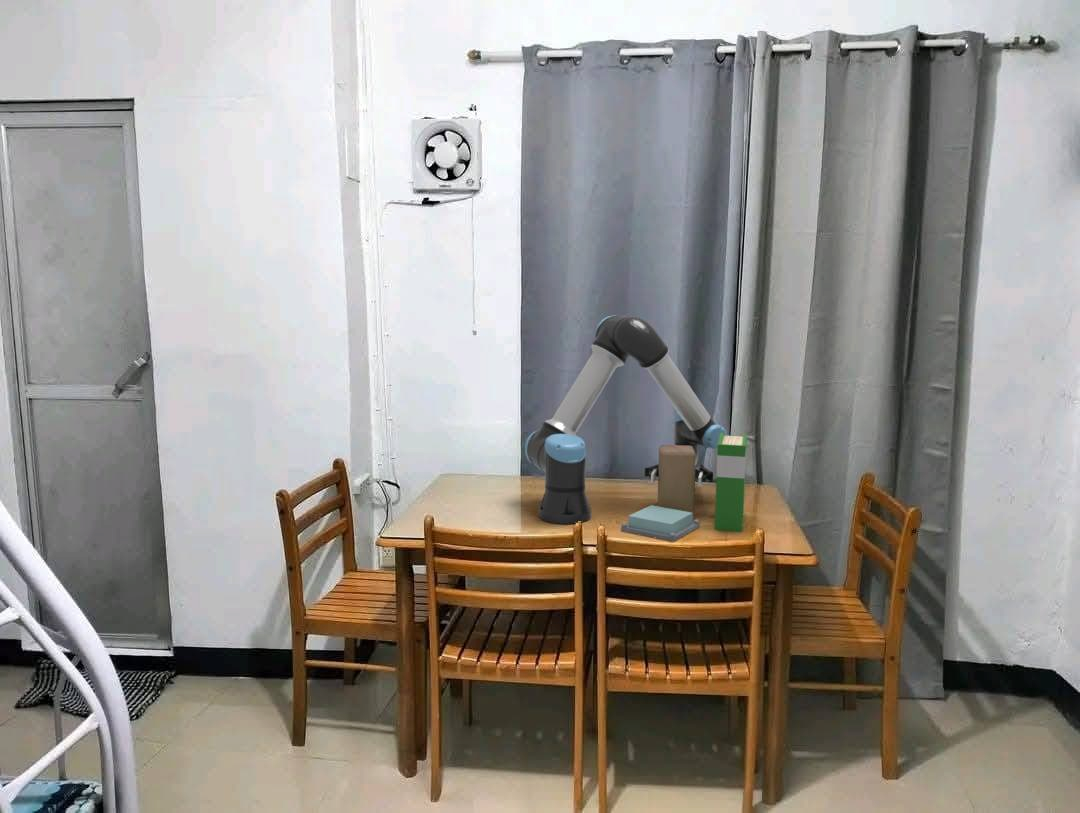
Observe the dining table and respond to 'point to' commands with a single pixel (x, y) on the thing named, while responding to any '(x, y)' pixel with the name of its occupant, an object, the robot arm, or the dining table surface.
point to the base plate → (661, 523)
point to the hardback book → (730, 482)
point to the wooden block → (676, 477)
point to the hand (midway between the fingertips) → (675, 480)
